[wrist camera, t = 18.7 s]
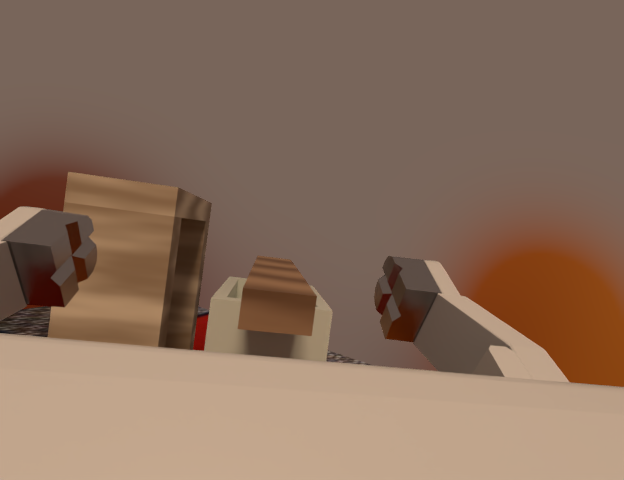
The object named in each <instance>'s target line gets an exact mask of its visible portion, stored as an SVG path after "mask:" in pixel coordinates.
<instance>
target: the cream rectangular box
mask: <svg viewBox="0 0 624 480" xmlns="http://www.w3.org/2000/svg"><path fill="white" fill-rule="evenodd" d="M246 280H247V279H246V278H237V277H229V278H228V279H227V280H226V281H225V283H224V284H223V285H222V286H221V287H220V288H219V290H218V291H217V292H216V293H215V294H214V295H213V297H212V298H211V303H210V311H209V318H208V326H207V334H206V342H205V349H204V351H210V352H221V353H233V354H244V355H256V356H268V357H279V358H291V359H302V360H314V361H325V362H326V357H327V350H328V342H329V335H330V327H331V320H332V312H333V311H332V310H331V309H330V307H329V306H328V305H327V303H326V302H325V301H324V300H323V298H322V297H321V296H320V294H319V293H318V292H317V291H316V289H315V288H314V287H313V286H310V287H311V289H312V290H313V292H314V293H315V294H316V296H317V300H316V307H315V315H314V322H313V330H312V336H304V335H294V334H283V333H273V332H263V331H252V330H242V329H238V322H239V314H240V307H241V299H242V291H243V287H244V285H245V282H246Z"/></svg>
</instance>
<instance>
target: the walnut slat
mask: <svg viewBox="0 0 624 480" xmlns="http://www.w3.org/2000/svg"><path fill="white" fill-rule="evenodd" d="M316 300H317V296H316V294H315V293H314V292H313V290H312V289H311V287H310V286H309V285H308V283H307V282H306V280H305V279H304V278H303V276H302V275H301V273H300V272H299V271H298V269H297V268H296V267H295V265H294V264H293V262H292V261H291V260H288V259H280V258H272V257H264V256H257V259H256V261H255V263H254V265H253V267H252V270H251V272H250V274H249V276H248V278H247V280H246V282H245V285H244V287H243V291H242V299H241V307H240V314H239V322H238V329H242V330H252V331H263V332H273V333H283V334H294V335H304V336H312V330H313V322H314V315H315V307H316Z"/></svg>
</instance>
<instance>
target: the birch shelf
mask: <svg viewBox="0 0 624 480" xmlns="http://www.w3.org/2000/svg"><path fill="white" fill-rule="evenodd" d="M63 212H68V213H74V214H81V215H87V216H89V217H90V218H91V219H92V223H93V228H94V231H93V233H92V234H91V235H90V236H89V238H90V239H91V240H92V241H93V242H94V243H95V244H96V247H97V262H96V265H95V268H94V270H93V272H92V274H91V275H90V276H89V278H88V279H86V280H84V281H81V282H79V283H78V287H79V290H78V292H77V293H76V294H75V295H74V297H73V298H72V299H71V300H70V302H69V303H68V304H67V305H66V307H53V306H52V308H51V316H50V324H49V332H48V337H49V338H60V339H72V340H83V341H95V342H107V343H118V344H130V345H141V346H153V347H164V348H176V349H187V350H193V344H194V336H195V328H196V320H197V313H198V305H199V296H200V289H201V281H202V273H203V265H204V258H205V250H206V243H207V235H208V227H209V219H210V212H211V203H210V202H208V201H206V200H204V199H201V198H199V197H197V196H195V195H193V194H191V193H189V192H186V191H184V190H182V189H180V188H178V187H171V186H164V185H157V184H150V183H142V182H136V181H129V180H122V179H115V178H108V177H101V176H94V175H87V174H80V173H72V172H68V179H67V187H66V195H65V203H64V211H63Z"/></svg>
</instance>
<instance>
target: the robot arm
mask: <svg viewBox="0 0 624 480" xmlns="http://www.w3.org/2000/svg"><path fill="white" fill-rule="evenodd" d="M93 231H94V228H93V223H92V219H91V218H90V217H89V216H87V215H81V214H74V213H68V212H61V211H54V210H48V209H47V210H46V209H42V208H34V207H19V208H17V209H16V210H14V211H13V212H11V213H10V214H8V215H7V216H5V217H4V218H2V219H1V220H0V321H1V320H2V319H4V318H6V317H8V316H10V315H12V314H13V313H15V312H17V311H19V310H21V309H23V308H24V307H26V306H27V305H40V306H53V307H66V305H67V304H68V303H69V302H70V300H71V299H72V298H73V297H74V295H75V294H76V293H77V292H78V290H79V287H78V283H79V282H81V281H84V280H86V279H88V278H89V276H90V275H91V274H92V272H93V270H94V268H95V265H96V262H97V247H96V244H95V243H94V242H93V241H92V240H91V239H90V238H89V236H90V235H91V234H92V233H93ZM383 270H384V273H385V275H384V276H382V277H381V278H380V279H379V280H378V282H377V285H376V288H375V296H374V298H375V306H376V310H377V311H378V312H379V313H380V314H381V315H382V317H381V320H380V323H381V327H382V330H383V333H384V337H385V339H390V340H398V341H406V342H414V345H415V346H416V347H417V348H418V349H419V350H420V351H421V353H422V354H423V355H424V356H425V357H426V358H427V359H428V360H429V361H430V362H431V364H432V365H433V366H434V367H435V368H436V369H437V370H438V371H430V370H418V369H406V368H395V367H383V366H372V365H360V364H349V363H337V362H325V361H314V360H302V359H291V358H279V357H268V356H256V355H244V354H233V353H221V352H210V351H198V350H187V349H176V348H164V347H153V346H141V345H130V344H118V343H107V342H95V341H83V340H72V339H60V338H49V337H37V336H26V335H14V334H2V333H0V480H624V387H615V386H602V385H592V384H579V383H570V382H569V381H568V380H567V378H566V377H565V376H564V374H563V373H562V372H561V370H560V369H559V368H558V367H557V365H556V364H555V363H554V361H553V360H552V359H551V358H550V356H549V355H548V354H547V352H546V351H545V350H544V349H543V348H541V347H540V346H538V345H537V344H535V343H534V342H532V341H531V340H529V339H528V338H526V337H525V336H523V335H522V334H520V333H519V332H517V331H516V330H515V329H513V328H511V327H510V326H509V325H507V324H506V323H504V322H503V321H501V320H500V319H498V318H497V317H495V316H494V315H492V314H491V313H489V312H488V311H486V310H485V309H483V308H482V307H480V306H479V305H477V304H476V303H474V302H473V301H472V300H470V299H469V298H467V297H464V296H460V294H459V292H458V291H457V289H456V288H455V286H454V284H453V283H452V281H451V279H450V278H449V276H448V275H447V273H446V271H445V270H444V268H443V267H442V265H441V264H440V263H439V262H437V261H429V260H419V259H410V258H400V257H391V256H388V257H387V259H386V261H385V263H384V265H383Z"/></svg>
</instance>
